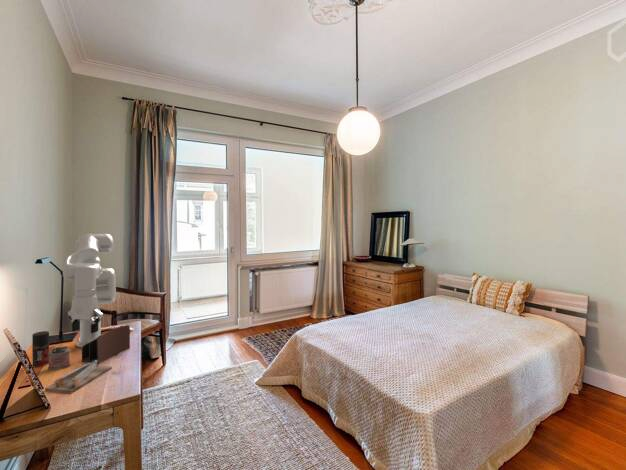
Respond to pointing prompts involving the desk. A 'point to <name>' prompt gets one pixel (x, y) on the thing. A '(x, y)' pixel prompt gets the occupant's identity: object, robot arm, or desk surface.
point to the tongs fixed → (72, 374)
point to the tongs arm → (83, 374)
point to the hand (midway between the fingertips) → (85, 331)
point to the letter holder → (107, 345)
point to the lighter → (59, 358)
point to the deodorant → (40, 348)
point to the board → (68, 386)
